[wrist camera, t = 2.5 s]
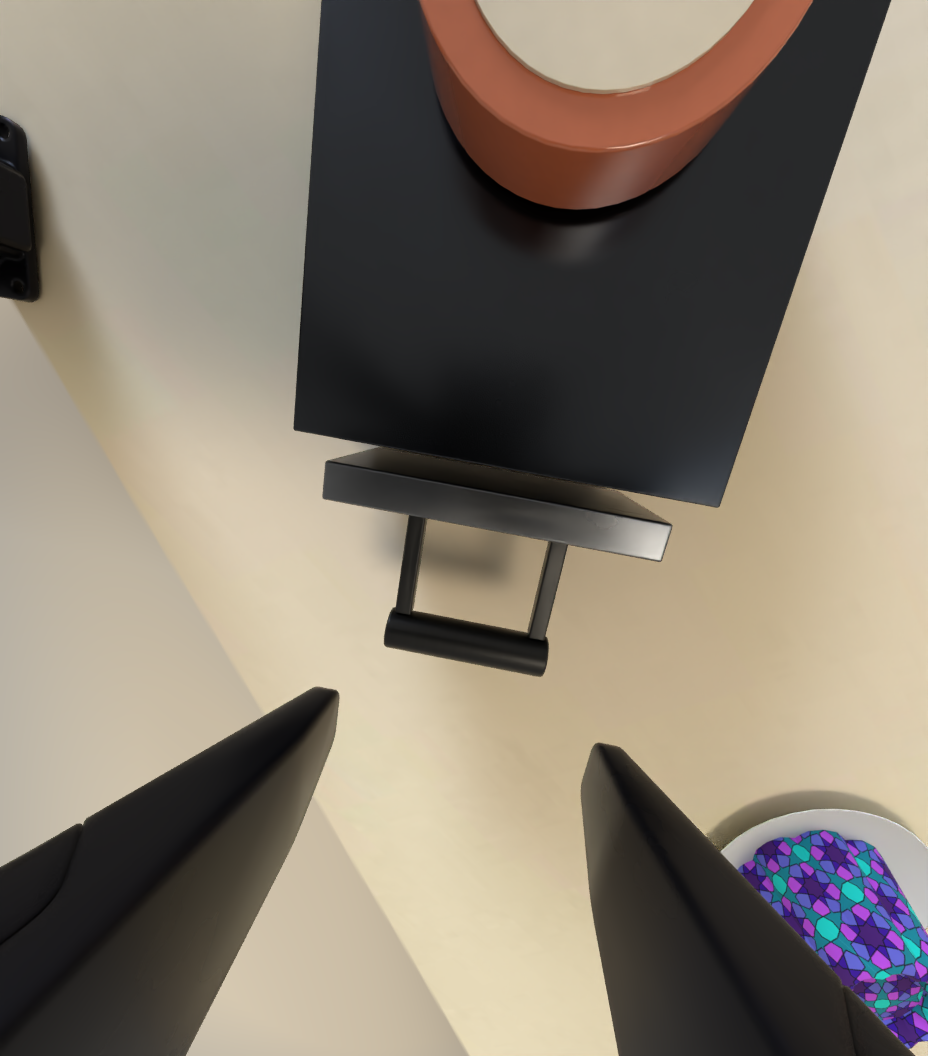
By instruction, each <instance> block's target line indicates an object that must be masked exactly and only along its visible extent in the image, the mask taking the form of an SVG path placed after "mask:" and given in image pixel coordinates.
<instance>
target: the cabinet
mask: <svg viewBox="0 0 928 1056" xmlns="http://www.w3.org/2000/svg"><path fill="white" fill-rule="evenodd" d="M890 2H891V0H813V2H812V4H811V5H810V7H809V9H808V10H807V12H806V14H805V16H804V17H803V19H802V21H801V22H800V24H799V26H798V27H797V29H796V30H795V31H794V33H793V34H792V36H791V37H790V38H789V40H788V41H787V42H786V44H785V45H784V46H783V48H782V49H781V51H780V52H779V53H778V55H777V56H776V57H775V59H774V60H773V61H772V62H771V64H770V65H769V66H768V68H767V69H766V70H765V71H764V73H763V74H762V75H761V77H760V78H759V79H758V81H757V82H756V83H755V84H754V86H753V87H752V88H751V90H750V91H749V92H748V93H747V95H746V96H745V97H744V99H743V100H742V101H741V102H740V104H739V105H738V106H737V108H736V109H735V110H734V111H733V113H732V114H731V115H730V117H729V118H728V119H727V121H726V122H725V123H724V124H723V126H722V127H721V128H720V130H719V131H718V132H717V133H716V135H715V136H714V137H713V138H712V139H711V141H710V142H709V143H708V144H707V145H706V146H705V147H704V148H703V149H702V150H701V152H700V153H699V154H698V155H697V156H696V157H695V158H694V159H692V160H691V161H690V162H689V163H688V164H687V165H686V166H684V167H683V168H682V169H681V170H680V171H679V172H678V173H676V174H675V175H673V176H672V177H670V178H669V179H667V180H666V181H665V182H663V183H662V184H660V185H659V186H657V187H655V188H653V189H651V190H649V191H647V192H645V193H643V194H641V195H640V196H638V197H635V198H632V199H629V200H626V201H624V202H621V203H618V204H614V205H609V206H605V207H600V208H592V209H576V210H575V209H564V208H554V207H550V206H546V205H542V204H538V203H535V202H532V201H530V200H527V199H525V198H523V197H520V196H518V195H516V194H514V193H513V192H511V191H509V190H508V189H506V188H504V187H503V186H501V185H499V184H498V183H497V182H496V181H495V180H493V179H492V178H491V177H490V176H489V175H487V174H486V173H485V172H484V171H483V170H482V169H481V168H480V167H479V166H478V165H477V164H476V163H475V162H474V160H473V159H472V158H471V157H470V156H469V155H468V153H467V152H466V151H465V149H464V148H463V146H462V145H461V143H460V142H459V140H458V139H457V138H456V136H455V134H454V132H453V130H452V128H451V126H450V124H449V123H448V121H447V119H446V117H445V114H444V112H443V109H442V106H441V104H440V101H439V99H438V96H437V93H436V89H435V85H434V82H433V78H432V74H431V70H430V65H429V60H428V54H427V49H426V44H425V39H424V33H423V28H422V23H421V18H420V13H419V7H418V2H417V0H322V2H321V18H320V33H319V48H318V63H317V79H316V94H315V109H314V124H313V140H312V155H311V170H310V185H309V200H308V216H307V231H306V246H305V261H304V277H303V292H302V307H301V322H300V338H299V353H298V368H297V383H296V398H295V414H294V430H295V431H301V432H306V433H312V434H317V435H323V436H328V437H334V438H339V439H345V440H350V441H355V442H361V443H366V444H372V445H377V446H383V447H388V448H394V449H399V450H405V451H410V452H416V453H421V454H427V455H432V456H438V457H443V458H448V459H454V460H459V461H465V462H470V463H476V464H481V465H487V466H492V467H498V468H503V469H509V470H514V471H520V472H525V473H530V474H536V475H541V476H547V477H552V478H558V479H563V480H569V481H574V482H580V483H585V484H591V485H596V486H602V487H607V488H613V489H618V490H623V491H629V492H634V493H640V494H645V495H651V496H656V497H662V498H667V499H673V500H678V501H684V502H689V503H695V504H700V505H706V506H711V507H716V508H717V507H719V506H720V503H721V501H722V498H723V495H724V492H725V489H726V486H727V483H728V480H729V477H730V474H731V471H732V468H733V465H734V462H735V459H736V456H737V453H738V450H739V447H740V444H741V442H742V439H743V436H744V433H745V430H746V427H747V424H748V421H749V418H750V415H751V412H752V409H753V406H754V403H755V400H756V397H757V394H758V391H759V388H760V386H761V383H762V380H763V377H764V374H765V371H766V368H767V365H768V362H769V359H770V356H771V353H772V350H773V347H774V344H775V341H776V338H777V335H778V332H779V329H780V327H781V324H782V321H783V318H784V315H785V312H786V309H787V306H788V303H789V300H790V297H791V294H792V291H793V288H794V285H795V282H796V279H797V276H798V273H799V270H800V268H801V265H802V262H803V259H804V256H805V253H806V250H807V247H808V244H809V241H810V238H811V235H812V232H813V229H814V226H815V223H816V220H817V217H818V214H819V212H820V209H821V206H822V203H823V200H824V197H825V194H826V191H827V188H828V185H829V182H830V179H831V176H832V173H833V170H834V167H835V164H836V161H837V158H838V155H839V153H840V150H841V147H842V144H843V141H844V138H845V135H846V132H847V129H848V126H849V123H850V120H851V117H852V114H853V111H854V108H855V105H856V102H857V99H858V96H859V94H860V91H861V88H862V85H863V82H864V79H865V76H866V73H867V70H868V67H869V64H870V61H871V58H872V55H873V52H874V49H875V46H876V43H877V40H878V38H879V35H880V32H881V29H882V26H883V23H884V20H885V17H886V14H887V11H888V8H889V5H890Z"/></svg>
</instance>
